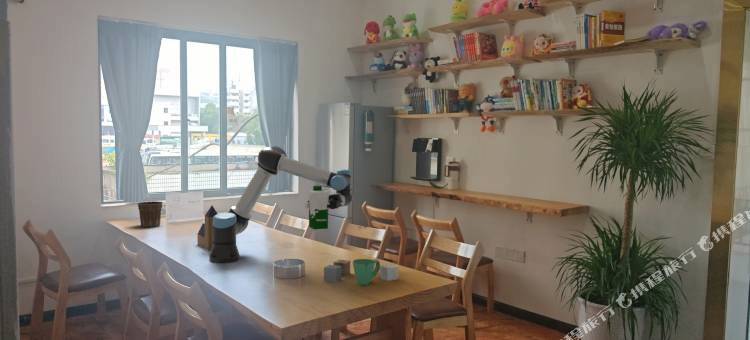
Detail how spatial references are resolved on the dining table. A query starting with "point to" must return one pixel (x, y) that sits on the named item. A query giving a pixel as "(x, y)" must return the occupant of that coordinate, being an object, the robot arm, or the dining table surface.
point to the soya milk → (318, 208)
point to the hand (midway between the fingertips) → (314, 206)
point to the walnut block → (343, 266)
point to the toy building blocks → (207, 230)
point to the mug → (365, 270)
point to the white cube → (389, 272)
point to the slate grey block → (332, 273)
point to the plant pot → (150, 213)
